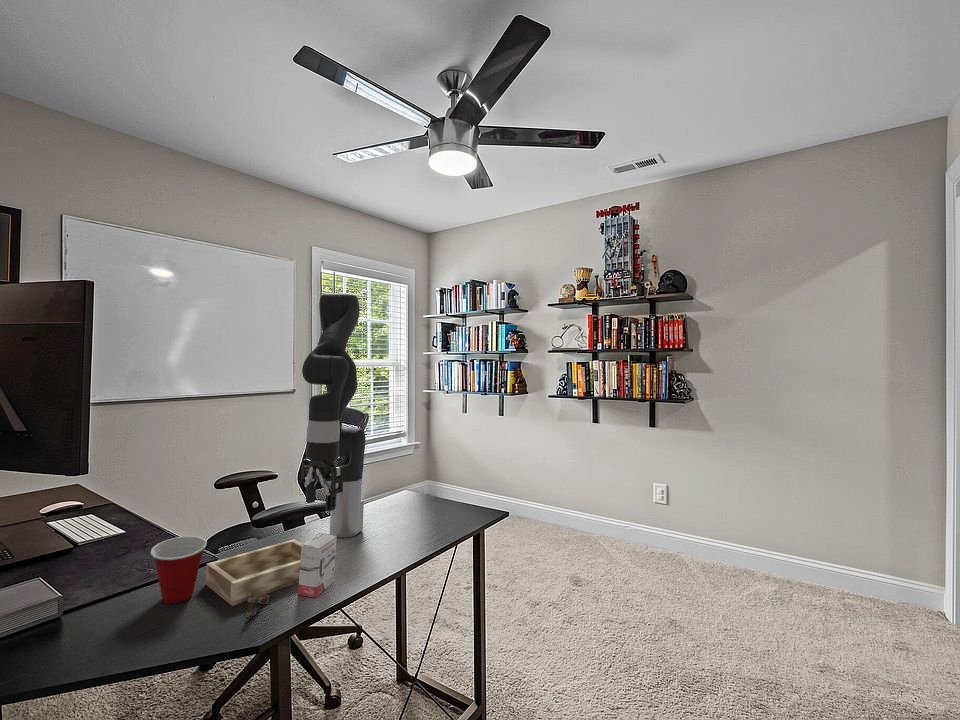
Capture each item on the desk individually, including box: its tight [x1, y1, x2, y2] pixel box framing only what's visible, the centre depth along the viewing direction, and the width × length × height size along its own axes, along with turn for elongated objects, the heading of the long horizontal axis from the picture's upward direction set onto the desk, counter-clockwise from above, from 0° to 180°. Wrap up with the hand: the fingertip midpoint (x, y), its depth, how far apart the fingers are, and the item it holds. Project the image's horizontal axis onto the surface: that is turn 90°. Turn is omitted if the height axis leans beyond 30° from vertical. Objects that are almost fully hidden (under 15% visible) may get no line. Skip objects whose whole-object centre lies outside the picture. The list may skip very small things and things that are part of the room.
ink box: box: [297, 532, 338, 599], centre depth 117 cm, size 9×5×12 cm, turn 168°
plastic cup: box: [150, 535, 207, 604], centre depth 110 cm, size 11×11×12 cm
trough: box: [205, 538, 303, 607], centre depth 120 cm, size 22×14×5 cm, turn 140°
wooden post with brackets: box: [245, 594, 270, 620], centre depth 105 cm, size 2×8×4 cm, turn 179°
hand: (320, 506), depth 117 cm, fingers open, 8 cm apart
